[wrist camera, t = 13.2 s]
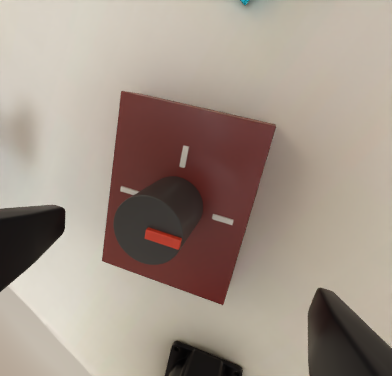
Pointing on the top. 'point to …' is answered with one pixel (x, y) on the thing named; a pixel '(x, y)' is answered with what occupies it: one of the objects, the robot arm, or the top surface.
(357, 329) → the robot arm
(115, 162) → the dial panel
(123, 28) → the top surface
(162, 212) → the timer dial
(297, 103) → the top surface
